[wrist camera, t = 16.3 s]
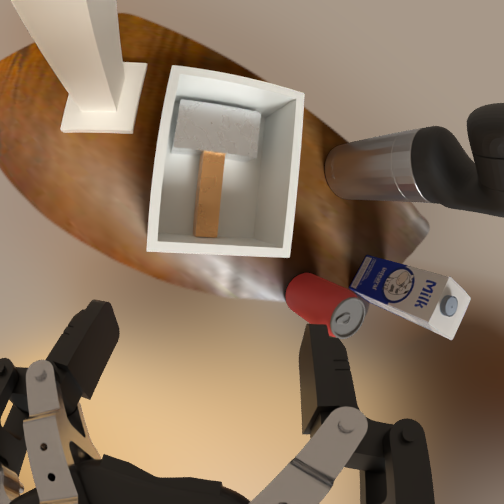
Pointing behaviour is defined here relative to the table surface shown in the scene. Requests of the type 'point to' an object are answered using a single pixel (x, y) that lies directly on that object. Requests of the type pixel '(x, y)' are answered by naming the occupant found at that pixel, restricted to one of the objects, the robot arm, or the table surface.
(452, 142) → the robot arm
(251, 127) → the metal head mallet
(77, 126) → the stand
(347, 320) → the beer can
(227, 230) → the box
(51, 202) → the table surface
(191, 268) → the table surface
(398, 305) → the milk carton
